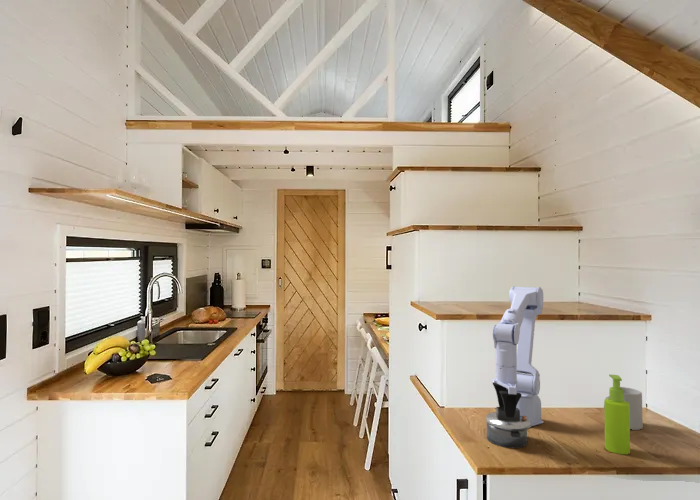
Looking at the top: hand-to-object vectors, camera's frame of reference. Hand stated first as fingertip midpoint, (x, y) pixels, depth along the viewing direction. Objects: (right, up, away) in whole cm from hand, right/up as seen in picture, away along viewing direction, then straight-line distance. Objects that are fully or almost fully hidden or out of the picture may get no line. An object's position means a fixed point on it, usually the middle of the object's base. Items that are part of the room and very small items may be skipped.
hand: (506, 412), depth 123 cm
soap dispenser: (+29, -8, -6) cm, 30 cm away
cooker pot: (0, -8, 0) cm, 8 cm away
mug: (+41, -9, +12) cm, 44 cm away
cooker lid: (0, -3, 0) cm, 3 cm away
